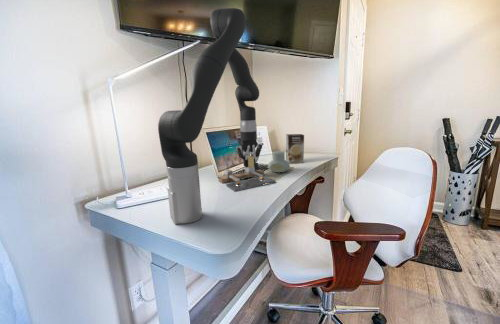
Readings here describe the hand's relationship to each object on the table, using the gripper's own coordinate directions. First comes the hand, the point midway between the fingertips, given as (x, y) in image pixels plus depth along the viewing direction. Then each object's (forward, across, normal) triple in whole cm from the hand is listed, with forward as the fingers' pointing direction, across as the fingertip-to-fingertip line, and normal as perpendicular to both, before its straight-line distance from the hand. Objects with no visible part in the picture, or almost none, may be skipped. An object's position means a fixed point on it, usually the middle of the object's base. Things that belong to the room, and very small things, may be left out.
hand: (249, 166), depth 122 cm
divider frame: (+5, -4, -4) cm, 8 cm away
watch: (+5, +8, +12) cm, 15 cm away
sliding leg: (+4, 0, -5) cm, 6 cm away
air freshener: (+5, +17, 0) cm, 18 cm away
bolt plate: (+5, -5, -10) cm, 13 cm away
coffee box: (+5, +36, +11) cm, 38 cm away
